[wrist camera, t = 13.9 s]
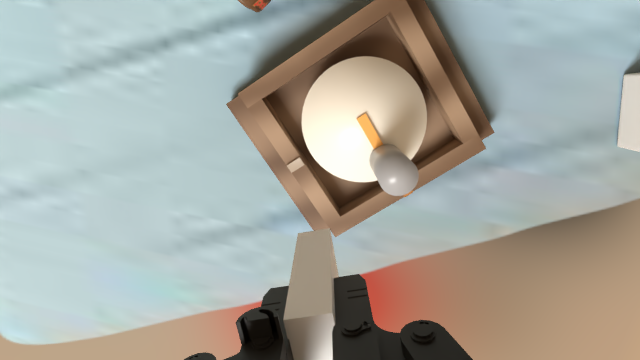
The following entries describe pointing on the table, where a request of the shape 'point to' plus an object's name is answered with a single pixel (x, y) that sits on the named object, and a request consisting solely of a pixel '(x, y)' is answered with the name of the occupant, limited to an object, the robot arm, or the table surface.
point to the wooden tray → (338, 45)
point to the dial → (366, 123)
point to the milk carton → (630, 113)
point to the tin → (255, 4)
